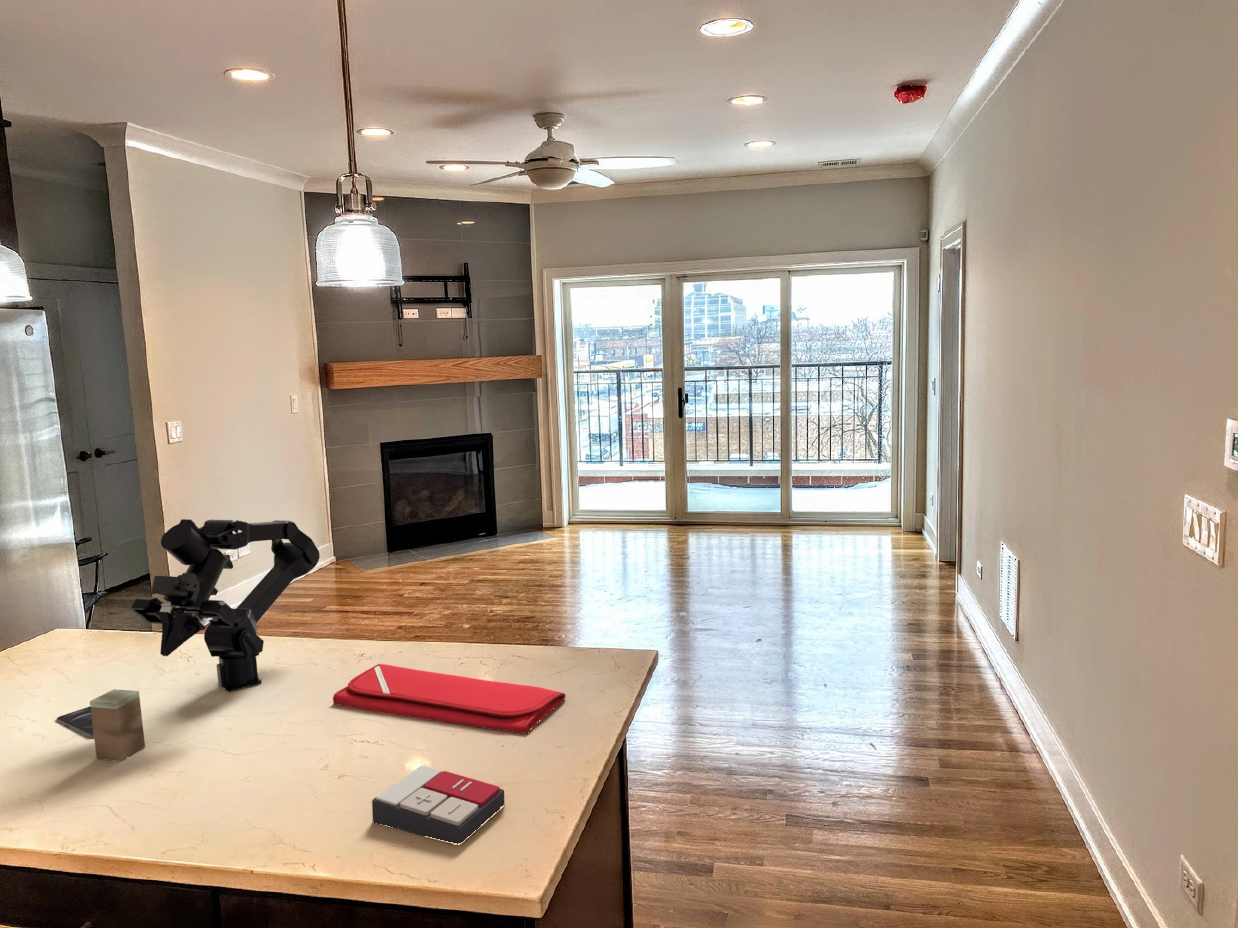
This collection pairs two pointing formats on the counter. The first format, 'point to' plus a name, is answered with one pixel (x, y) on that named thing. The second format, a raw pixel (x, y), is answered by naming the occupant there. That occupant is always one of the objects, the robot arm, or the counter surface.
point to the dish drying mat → (448, 698)
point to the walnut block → (117, 724)
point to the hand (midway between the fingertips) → (163, 655)
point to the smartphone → (79, 721)
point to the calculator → (437, 804)
